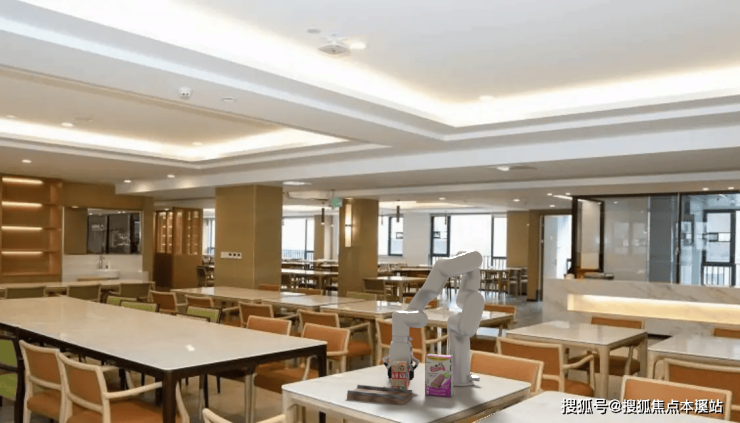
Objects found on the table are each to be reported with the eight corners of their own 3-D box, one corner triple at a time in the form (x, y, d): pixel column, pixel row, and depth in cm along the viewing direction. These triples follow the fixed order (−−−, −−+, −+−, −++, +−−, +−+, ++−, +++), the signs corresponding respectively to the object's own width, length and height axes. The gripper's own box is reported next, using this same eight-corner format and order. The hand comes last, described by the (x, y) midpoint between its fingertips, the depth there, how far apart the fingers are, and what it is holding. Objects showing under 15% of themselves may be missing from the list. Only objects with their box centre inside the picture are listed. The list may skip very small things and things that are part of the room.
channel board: (412, 397, 247) (412, 389, 247) (403, 405, 236) (403, 396, 236) (358, 391, 256) (358, 383, 256) (346, 398, 245) (346, 390, 245)
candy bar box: (424, 395, 250) (424, 355, 251) (427, 392, 255) (427, 353, 256) (451, 397, 246) (451, 357, 247) (453, 394, 251) (453, 355, 252)
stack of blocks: (396, 381, 275) (396, 354, 276) (410, 381, 274) (410, 354, 275) (391, 393, 254) (391, 363, 254) (406, 393, 253) (406, 364, 253)
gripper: (422, 339, 264) (422, 378, 264) (385, 336, 271) (385, 375, 270) (417, 342, 258) (416, 382, 257) (379, 339, 264) (379, 378, 263)
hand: (400, 378), depth 264 cm, fingers open, 9 cm apart
